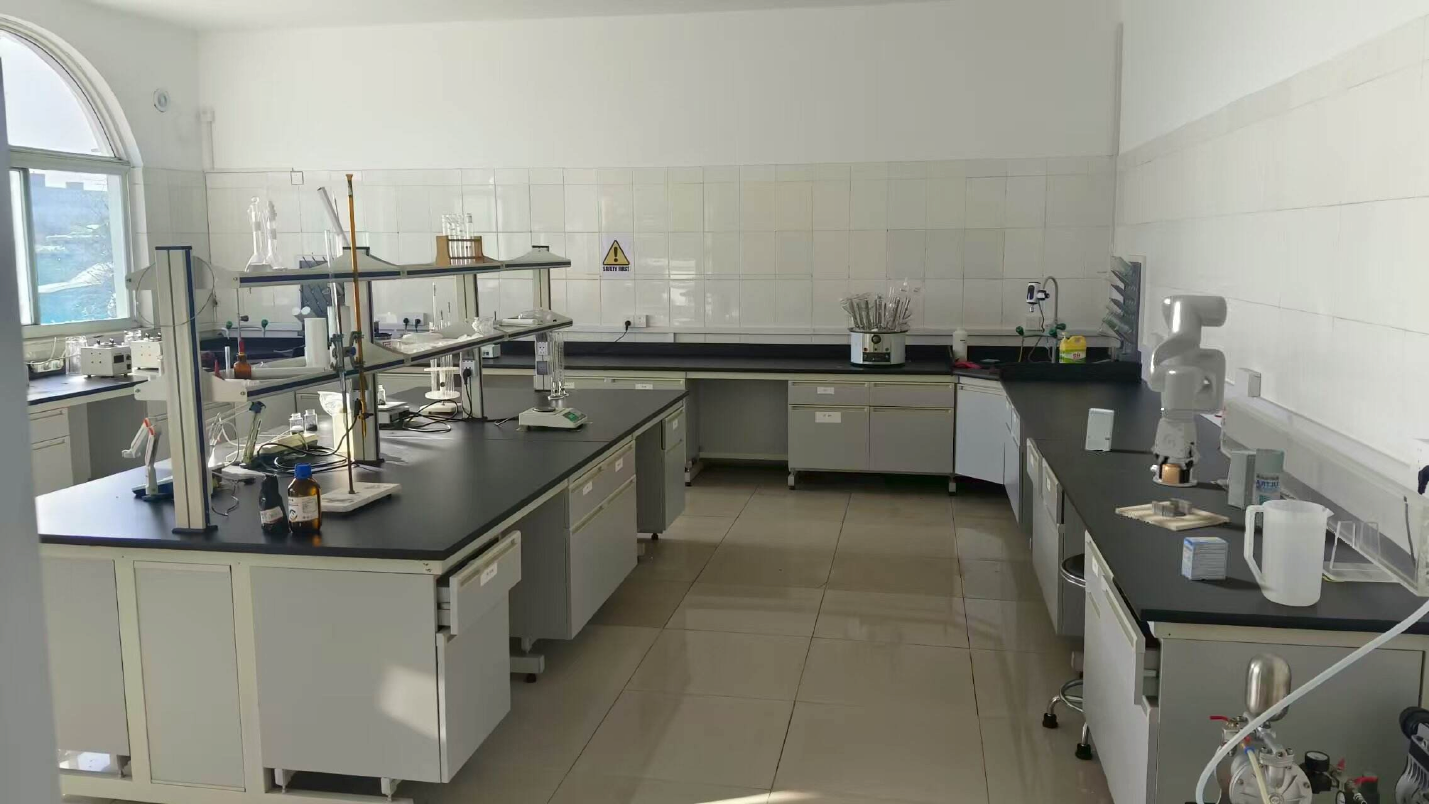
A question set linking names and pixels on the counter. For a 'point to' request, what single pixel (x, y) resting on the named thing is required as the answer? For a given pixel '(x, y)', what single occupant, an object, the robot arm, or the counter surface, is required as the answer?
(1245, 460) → the skincare box
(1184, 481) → the robot arm
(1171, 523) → the barrel mount
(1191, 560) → the medicine box
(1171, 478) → the tan round jar
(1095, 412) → the skincare box
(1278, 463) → the spray paint can
